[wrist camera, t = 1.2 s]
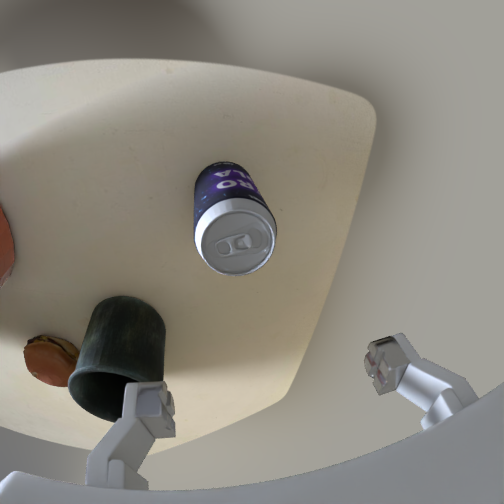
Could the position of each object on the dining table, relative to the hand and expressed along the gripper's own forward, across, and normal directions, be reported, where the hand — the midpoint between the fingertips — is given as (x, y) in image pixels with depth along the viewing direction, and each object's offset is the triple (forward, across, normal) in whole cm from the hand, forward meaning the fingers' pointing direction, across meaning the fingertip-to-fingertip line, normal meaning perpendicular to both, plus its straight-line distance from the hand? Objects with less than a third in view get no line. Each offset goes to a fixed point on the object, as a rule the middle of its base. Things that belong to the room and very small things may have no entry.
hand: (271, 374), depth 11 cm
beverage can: (+22, 0, 0) cm, 22 cm away
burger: (+22, +29, +20) cm, 42 cm away
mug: (+22, +15, +18) cm, 32 cm away
